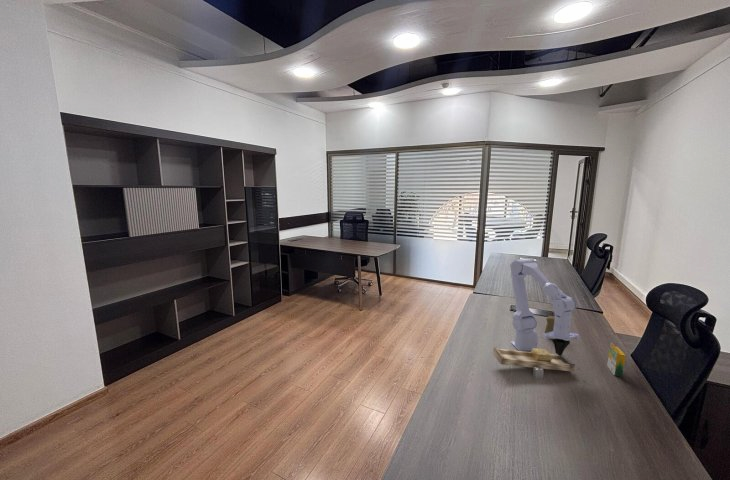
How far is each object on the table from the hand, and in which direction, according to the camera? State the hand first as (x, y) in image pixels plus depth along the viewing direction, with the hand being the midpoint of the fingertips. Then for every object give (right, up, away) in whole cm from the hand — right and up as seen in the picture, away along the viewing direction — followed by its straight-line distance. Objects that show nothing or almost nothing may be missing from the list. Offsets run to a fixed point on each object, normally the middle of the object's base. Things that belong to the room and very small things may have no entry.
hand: (558, 354), depth 126 cm
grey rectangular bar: (-12, -7, +1) cm, 13 cm away
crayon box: (+23, -7, -1) cm, 25 cm away
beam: (-12, -4, +1) cm, 12 cm away
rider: (-8, -3, +1) cm, 8 cm away
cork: (+15, -2, +29) cm, 32 cm away
